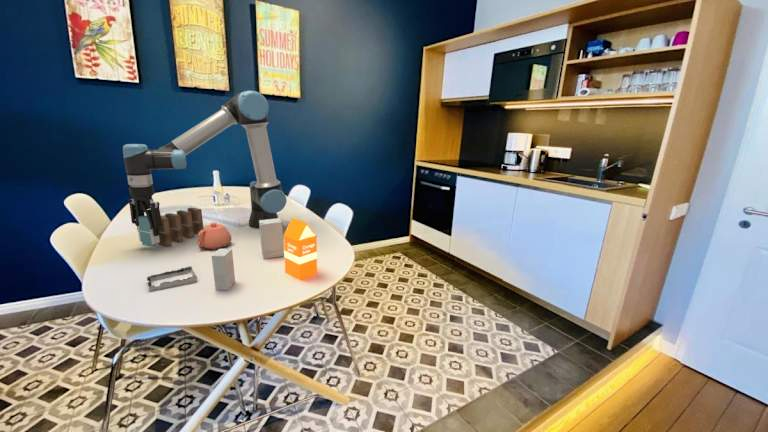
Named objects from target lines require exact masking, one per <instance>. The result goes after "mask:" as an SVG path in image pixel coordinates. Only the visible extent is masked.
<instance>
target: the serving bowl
mask: <svg viewBox="0 0 768 432" xmlns="http://www.w3.org/2000/svg"><path fill="white" fill-rule="evenodd" d="M187 208H198V207H197V206H196V205H192V204H175V205H165V206H161V207H160V206H159V210H160V215H161V217H164V218H165V214H168V213H172V214H177V211H179V210H183V211H188V209H187Z"/></svg>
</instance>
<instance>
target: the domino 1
mask: <svg viewBox="0 0 768 432" xmlns="http://www.w3.org/2000/svg"><path fill="white" fill-rule="evenodd" d="M138 221H139V227H140V233H141V239H142V242H141V244H142V246H146V247H149V248H150V247H151V248H155V247H158V246H159V245H158V243H157V244H154V245H153V244H152V241H151V234H150V229H149V228H151V226H150V223H149V221H148V218H147V215H146V214H144V215H143V216H139V217H138Z"/></svg>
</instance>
